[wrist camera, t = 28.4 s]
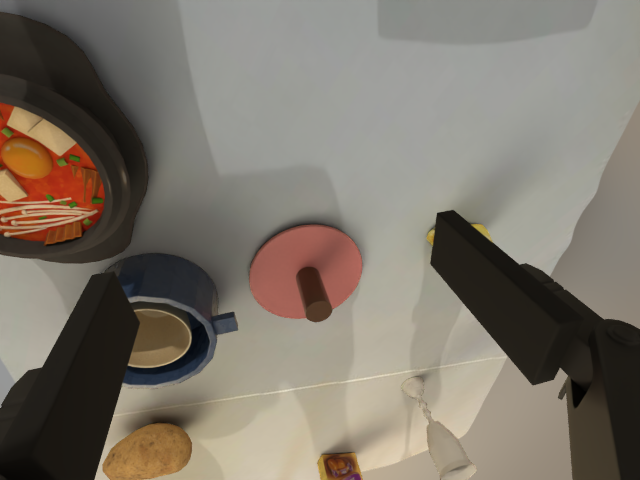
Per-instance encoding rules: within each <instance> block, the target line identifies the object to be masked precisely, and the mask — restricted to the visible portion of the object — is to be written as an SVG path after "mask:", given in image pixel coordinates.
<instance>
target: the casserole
mask: <svg viewBox="0 0 640 480" xmlns="http://www.w3.org/2000/svg"><path fill="white" fill-rule="evenodd" d="M147 184H148V165H147V159H146V156H145V152H144V149H143V146H142V143H141V141H140V139H139V137H138V135H137V133H136V131H135V130H134V128H133V126H132V125H131V123H130V122H129V121H128V120H127V118H126V117H125V116H124V114H123V113H122V112H121V111H120V109H119V108H118V107H117V105H116V104H115V103H114V102H113V100H112V99H111V98H110V96H109V95H108V94H107V93H106V91H105V89H104V87H103V85H102V84H101V82H100V80H99V78H98V76H97V74H96V72H95V71H94V69H93V67H92V65H91V64H90V62H89V60H88V59H87V57H86V55H85V54H84V52H83V51H82V50H81V49H80V48H79V47H78V46H77V45H76V44H75V43H74V42H73V41H72V40H71V39H69V38H68V37H67V36H66V35H64V34H62V33H61V32H59V31H57V30H55V29H53V28H52V27H50V26H48V25H46V24H43V23H41V22H38V21H35V20H32V19H29V18H26V17H23V16H21V15H15V14H10V13H4V12H0V254H2V255H6V256H12V257H19V258H38V259H41V260H45V261H51V262H58V263H88V262H96V261H100V260H104V259H107V258H111V257H113V256H115V255H117V254H119V253H121V252H123V251H124V250H125V249H126V248H127V246H128V245H129V244H130V242H131V236H132V231H133V225H134V220H135V217H136V214H137V212H138V210H139V208H140V205H141V203H142V201H143V199H144V196H145V194H146V190H147Z"/></svg>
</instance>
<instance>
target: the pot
mask: <svg viewBox="0 0 640 480" xmlns="http://www.w3.org/2000/svg"><path fill="white" fill-rule="evenodd" d="M112 271H114V272H115V274H116V276H117V278H118V280H119V282H120V284H121V286H122V288H123V290H124V292H125V294H126V296H127V298H128V300H129V302H130V303H132V302H137V301H143V302H155V303H167V304H169V305H172V306H174V307H177V308H179V309H182V310H185V311H186V313H187V315H188V318H189V322H190V326H191V334H192V340H191V345H190V347H189V349H188V350H187V352H186V353H185V354H184V355H183V356H182V357H180V358H179V359H177V360H176V361H174V362H172V363H169V364H166V365H163V366H158V367H152V368H140V367H132V366H127V370H126V373H125V377H124V380H123V383H122V387H125V388H130V389H157V388H161V387H165V386H170V385H174V384H178V383H181V382H183V381H185V380H187V379H189V378H190V377H192V376H194V375H196V374H198V373H200V372H201V371H202V370H203V368H204V367H205V366H206V365H207V364H208V363H209V362H210V361H211V359H212V358H213V355H214V351H215V347H216V343H217V335H218V334H223V333H228V332H232V331H237V330H238V324H237V320H236V317H235V313H234V312H230V313H225V314H221V315H218V296H217V291H216V287H215V285H214V283H213V281H212V280H211V278H210V277H209V276H208V274H207V273H206V272H205V271H203V270H202V269H201V268H200V267H198V266H197V265H195V264H194V263H192V262H190V261H188V260H185V259H183V258H180V257H176V256H172V255H167V254H142V255H136V256H132V257H129V258H126V259H123V260H121V261H119V262H117V263H116V264H114V265H113V266H111V267H110V268H109V269H108V270H106V271H105V272H104V273H107V272H112Z"/></svg>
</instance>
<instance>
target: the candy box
mask: <svg viewBox="0 0 640 480" xmlns="http://www.w3.org/2000/svg"><path fill="white" fill-rule="evenodd" d="M318 469H319V473H320V478H321V480H363V479H362V475H361V472H360V469H359V465H358V462H357V458H356V455H355V453H343V454H329V455H322V456H321V458H320V459H319V461H318Z"/></svg>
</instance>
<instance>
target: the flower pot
mask: <svg viewBox="0 0 640 480" xmlns="http://www.w3.org/2000/svg"><path fill="white" fill-rule="evenodd" d="M130 304H131V306H132V308H133V310H134V312H135V314H136V315H137V317H138V319H139V321H140V326H139V329H138V332H137V336H136V339H135V343H134V346H133V349H132V353H131V356H130V360H129V363H128V366H132V367H140V368H152V367H158V366H163V365H166V364H169V363H172V362H174V361H176V360H177V359H179V358H180V357H182V356H183V355H184V354H185V353H186V352H187V350H188V349H189V347H190V345H191V340H192V334H191V326H190V322H189V318H188V315H187V313H186V311H185V310H182V309H179V308H177V307H174V306H172V305H169V304H167V303H155V302H143V301H137V302H132V303H130Z"/></svg>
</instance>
